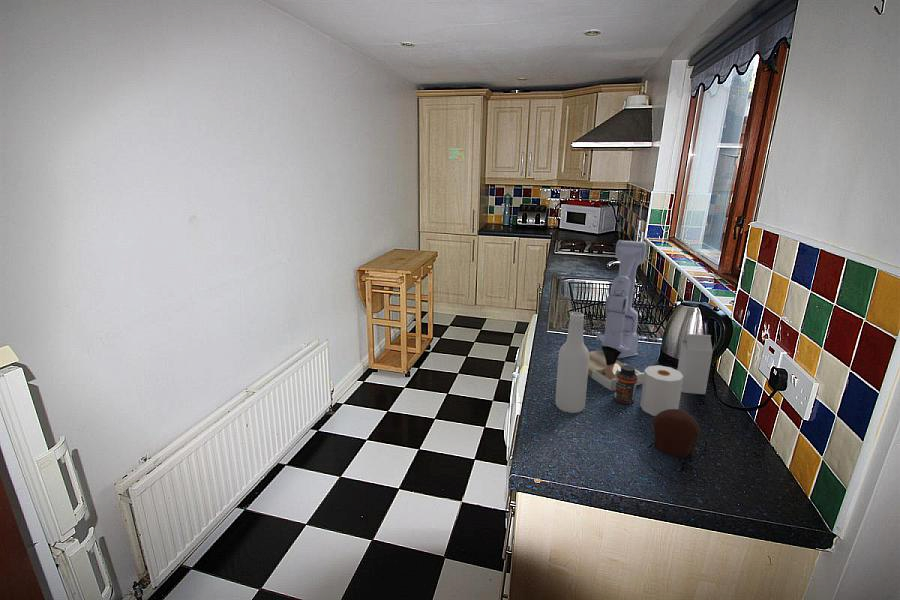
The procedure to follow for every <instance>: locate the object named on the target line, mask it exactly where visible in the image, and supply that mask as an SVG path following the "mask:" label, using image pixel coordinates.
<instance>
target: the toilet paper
mask: <svg viewBox="0 0 900 600" xmlns="http://www.w3.org/2000/svg"><path fill="white" fill-rule="evenodd" d="M643 371H644V372H643V373H644V378H643V384H642V385H641V395H640V402H639V406H640V407H641V409H642V411H643V412H645V413H647V414H649V415H650V416H653V417H655V416H656V415H657V414H659V413H660V412H662V411H664V410H667V409H678V410H679V408H680V402H681V401H680V400H681V394H682V392H681V389H682V383H683V375H682V374H681V373H680V371H677V369H675V368H673V367H670V366H664V365H658V364H657V365H650V366H647V367H646V368H645V369H644V370H643Z"/></svg>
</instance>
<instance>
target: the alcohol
mask: <svg viewBox="0 0 900 600" xmlns="http://www.w3.org/2000/svg"><path fill="white" fill-rule="evenodd" d="M584 317H585V314H584V313H582V312H579V311H571V313H569V323H568V329H567V335H566V337H567V338H566V340H565V343H564V344H562V345H561V347H560V348H559V351H558V358H557V371H556V374H557V375H556V387H555V403H554V404H555V405H556V408H558V410H560V411H561V410H562V412H564V413H567V412H568V413H567V414H578V413H581V412H582V411H583V410H584V409H585V407H586V398H587V388H588V377H589V376H588V367H589V352H590V351H589V349H588V348H587V346H586V345H585V343H584V320H585V319H584Z"/></svg>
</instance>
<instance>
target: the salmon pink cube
mask: <svg viewBox="0 0 900 600" xmlns="http://www.w3.org/2000/svg"><path fill="white" fill-rule="evenodd" d="M617 369H621V367H620V366H619V365H618V364H612V365H607V366H606V369H605V371H604V372H605V374H606V375H607V376H608V377H609V378H610V379H613V378H614V376H615V374H616V371H617Z"/></svg>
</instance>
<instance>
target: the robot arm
mask: <svg viewBox="0 0 900 600" xmlns="http://www.w3.org/2000/svg"><path fill="white" fill-rule="evenodd" d="M647 247H648V243H647V242H646V241H637V240H634V241H633V240H622V239H619V240H617V242H616V246H615V256H616V259H617V262H619V267H618V268H619V270H618V273H617V276H616V277H615V278H614V279H613V280H612V281H613V282H612V286H611V288H610V293H609V295H607V297H606V299H605V317H606V318H605V329H604V334H602V333H600V334H596V341H598V342H601V345H602V346H601V351H602V352H604V355H605V359H606V365H612V364H615V362H616V360H618V359H623V358H628V357H634V356H638V355H639V353H638V345H639V337H638V333H637V329H638V323H639V319H638V318H639V314H638V313H639V312H637V311H636V310H635V309H634V308H633V306H632V305H633V297H634V291H635V283H636V275H637V269H638V266H639V265H642V264H644V263H645V260H646V256H647V255H646V254H647Z"/></svg>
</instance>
